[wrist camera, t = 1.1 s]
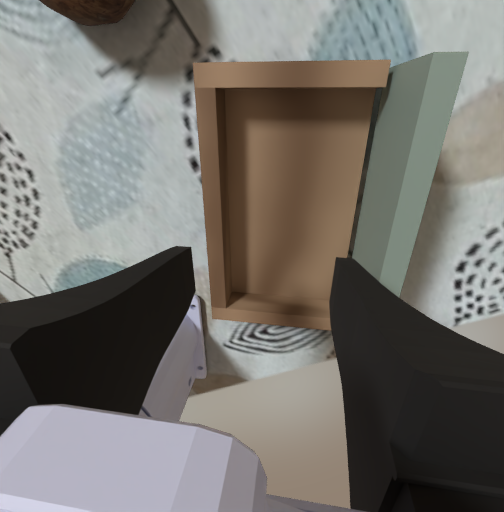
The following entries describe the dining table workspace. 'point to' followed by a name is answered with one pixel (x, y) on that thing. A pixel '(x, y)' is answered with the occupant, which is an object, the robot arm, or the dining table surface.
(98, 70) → the dining table surface
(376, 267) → the panel
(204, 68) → the crate
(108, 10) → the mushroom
